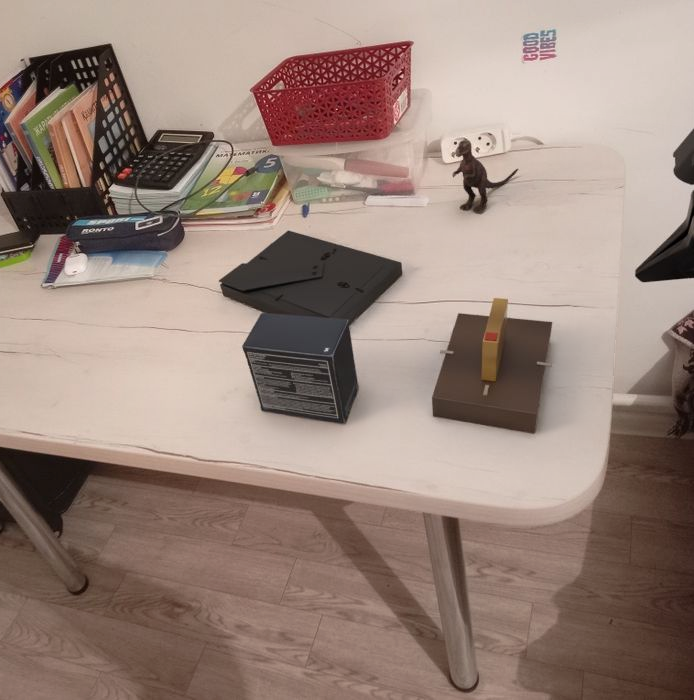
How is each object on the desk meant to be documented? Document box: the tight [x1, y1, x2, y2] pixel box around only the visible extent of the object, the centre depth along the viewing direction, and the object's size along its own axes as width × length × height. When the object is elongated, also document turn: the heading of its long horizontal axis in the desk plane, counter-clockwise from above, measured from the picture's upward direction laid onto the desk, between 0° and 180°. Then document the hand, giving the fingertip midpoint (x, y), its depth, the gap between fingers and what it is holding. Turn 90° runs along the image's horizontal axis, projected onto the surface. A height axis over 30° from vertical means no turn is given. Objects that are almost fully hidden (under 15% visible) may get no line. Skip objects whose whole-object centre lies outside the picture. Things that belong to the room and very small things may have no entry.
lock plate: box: [431, 312, 553, 434], centre depth 68 cm, size 14×11×3 cm
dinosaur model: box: [452, 139, 520, 214], centre depth 92 cm, size 4×12×15 cm
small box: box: [241, 312, 360, 425], centre depth 70 cm, size 11×6×10 cm, turn 65°
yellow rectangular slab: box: [481, 297, 509, 381], centre depth 65 cm, size 7×1×6 cm, turn 153°
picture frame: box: [218, 230, 403, 326], centre depth 89 cm, size 16×3×21 cm
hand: (638, 276), depth 56 cm, fingers closed
